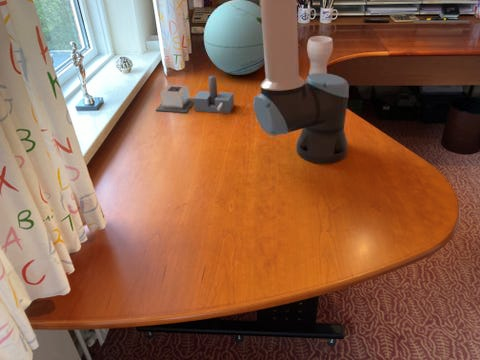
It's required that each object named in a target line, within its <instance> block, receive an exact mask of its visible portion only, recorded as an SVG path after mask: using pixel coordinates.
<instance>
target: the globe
mask: <svg viewBox="0 0 480 360" xmlns="http://www.w3.org/2000/svg"><path fill="white" fill-rule="evenodd" d="M203 43H204V49H205V51H206V53H207V55H208V58H209V59H210V61H211V62H212V64H214V65H215V66H216V68H218V69H220V70H222V71H223V72H225V73H227V74H229V75H235V76H240V75H243V76H244V75H248V74H251V73H253V72H256V71H258V70H259V69H260V68H262V67H263V66H265V60H264V46H263V31H262V17H261V5H260V6H259V5H258V4H257V3H254V2H252V1H249V0H229V1H226V2H224V3H222V4H221V5H219V6H217V8H215V10H214V11H212V13H211V14H210V16H209V17H208V19H207V21H206V24H205V26H204V31H203Z"/></svg>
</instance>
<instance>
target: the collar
mask: <svg viewBox="0 0 480 360" xmlns="http://www.w3.org/2000/svg"><path fill="white" fill-rule="evenodd" d="M160 98H161V103H162V106H163V108H172V109H184V107H185V106H186V105H187V104H188V102H189V101H190V98H191V96H190V86H189V85H181V84H167V85H166V86H165V88H164V89H162V90H161V91H160Z"/></svg>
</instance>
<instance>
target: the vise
mask: <svg viewBox="0 0 480 360" xmlns="http://www.w3.org/2000/svg"><path fill="white" fill-rule="evenodd" d="M217 83H218V82H217V76H216V75H209V76H208V91H207V90H199V91H198V92H197V93H196V94H195V95H194V96H193V97H192V98H193V99H194V104H193V106H194V112H201V113H202V112H204V113H216V114H217V113H219V114H230V113H231V111H232V110H233V108H234V106H235V102H234V101H235V100H234V99H235V98H234V96H235V95H234V92H226V91H225V92H224V91H219V93H218V84H217Z"/></svg>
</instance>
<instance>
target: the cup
mask: <svg viewBox="0 0 480 360" xmlns="http://www.w3.org/2000/svg"><path fill="white" fill-rule="evenodd" d="M333 49H334V41H333V38H332V37H329V36H326V35H325V36H324V35H315V36H311V37H309V38H308V41H307V44H306V51H307V57H308V59H309V65H310V66H309V71H308V75H310V74H313V73H327V74H328V70H327V69H328V68H327V65H328V61H329V59H331V58H330V57H331V55H332V53H333V51H334V50H333Z"/></svg>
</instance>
